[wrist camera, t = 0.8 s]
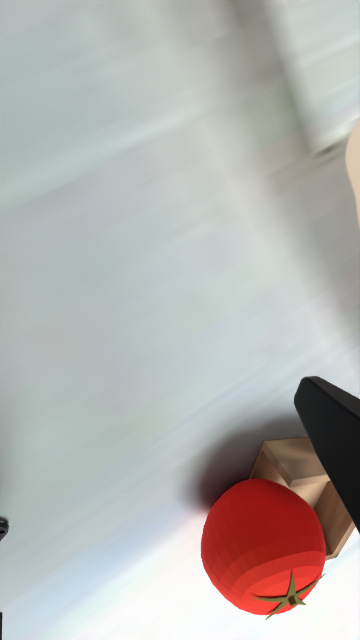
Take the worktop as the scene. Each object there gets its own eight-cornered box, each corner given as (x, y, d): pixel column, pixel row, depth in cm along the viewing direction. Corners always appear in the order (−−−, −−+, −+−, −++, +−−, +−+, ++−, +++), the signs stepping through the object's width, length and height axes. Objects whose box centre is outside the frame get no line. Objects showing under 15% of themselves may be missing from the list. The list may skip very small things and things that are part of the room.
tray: (224, 539, 39) (244, 584, 35) (263, 441, 34) (292, 479, 30) (310, 520, 45) (336, 557, 40) (356, 432, 39) (392, 464, 35)
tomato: (265, 527, 40) (318, 631, 31) (177, 533, 36) (207, 656, 27) (301, 460, 36) (373, 556, 27) (208, 458, 32) (256, 571, 23)
